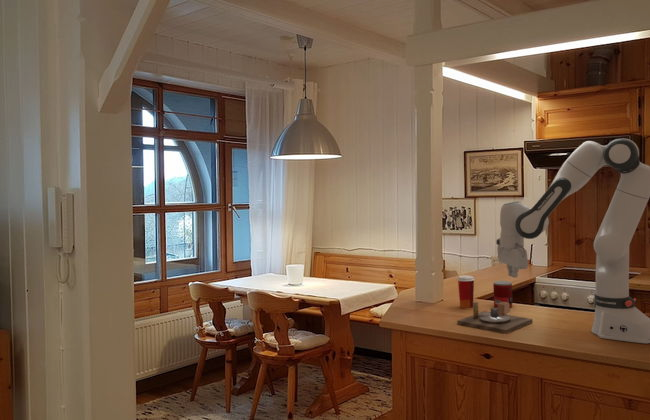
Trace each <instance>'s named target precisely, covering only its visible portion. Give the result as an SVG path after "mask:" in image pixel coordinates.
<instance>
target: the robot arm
mask: <svg viewBox="0 0 650 420" xmlns="http://www.w3.org/2000/svg"><path fill="white" fill-rule="evenodd" d="M605 166H609V167H611V168H612V169H614V170H616V172H618V173H620V179H619V182H618V184H617V185H616V189H615V191H614V194H613V195H612V198H611V200H610V203H609V206H608V209H607V210H606V212H605V215H604V217H603V219H602V222H601V224H600V226H599V228H598V231H597V233H596V236H595V238H594V240H593V249H594V252H595V254H596V259H595V260H596V262H595V293H594V297H593V298H594V299H593V300H594V301H593V302H594V303H593V304H594V309H595V310H594V319H593V324H592V328H591V330H590V331H591V333H592V334H594V335H596V336H597V337H598V338H600V339H606V340H613V341H621V342H628V343H629V342H630V343H638V344H650V317H649V316H647V315H646V314H644V313H643V311H641V310H640V309H638V308H637V307H636V306H635V303H636V300H637V297H636V298H633V297H631V296H630V275H629V274H630V244H631V242H632V239H633V236H634V235H635V232H636V230H637V227H638V225H639V223H640V221H641V218H642V217H643V214H644V212H645V209H646V206H647V204H648V202H649V200H650V165H648V164H646V163H645V164H644V163H643V162H641V161H640V149H639V147H638V145H637V144H636V143H635V142H634V141H633V140H631V139H629V138H615V139H613V140H611V141H610V142H608V144H606V145H602V144H600V143H599V142H596V141H593V140H587V141H584V142H582V144H580V145H579V146H578V147H577V148H575V149H574V151H573V152H572V153H571V154H570V155H569V156H568V157H567V159H566V160H565V161H564V162H563V163H562V165H561V166H560V168H559V169H558V172H557V173H556V175H555V176H554V178H553V180H552V182H551V183H550V185H549V186H548V189H547V190H546V191H545V192H544V194H543V195H542V196H541V197H540V198H539V200H537V202H536V203H535V204H534V206H532V207H530V206H528V205H526V204H524V203H523V202H521V201H512V202H507V203H504V204H503V205H502V206H501V208H500V213H499V215H500V216H499V217H500V218H499V225H500V228H501V229H500V237H499V238H497V239H496V241H495V243H496V245H497V247H496V248H497V249H496V250H497V259H498V262H500V263H502V264H505V265H506V268H507V272H508V276H510V277H512V278H516V279H517V278H518V272H519V270H527V269H528V266H529V260H528V253H527V250H526V249H525V242H524V241H525V239H528V240H531V239H536V238H538V236H540V235H541V234H542V233H544V232H545V231H546V230H547V229H548V227H549V226H550V218H549V216H550V215H551V214H552V213H553V211H554V210H555V209H556V208H557V207H558V206H559V205H560V203H561V202H562V201H564V199H566V198H567V197H569V196H570V195H573V194H575V193H576V192H578V191H579V190H580V189H582V188H583V187H584V186H585V185H586V184H588V183H589V181H590V180H591V179H592V177H593V176H594V175H595V174H596V173H597V172H598V171H599V170H600V169H601V168H602V167H605Z"/></svg>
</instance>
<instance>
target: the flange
mask: <svg viewBox="0 0 650 420" xmlns="http://www.w3.org/2000/svg"><path fill="white" fill-rule="evenodd" d="M490 312H491V313H483V314H480V315H479V319H480V320H481V321H483V322H488V323H504V322H508V321H510V316H509V315H510V314H509V313H511V312H510V308H509V303H507V302H501V303H498V308H497V307H491V308H490Z"/></svg>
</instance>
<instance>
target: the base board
mask: <svg viewBox="0 0 650 420" xmlns="http://www.w3.org/2000/svg"><path fill="white" fill-rule="evenodd" d="M472 311H473V312H472V313H473V314H472V315H469V316H466V317H463V318H461V319H458V320H457V321H456V322H457V324H456V325H460V326H466V327H470V328H475V329H480V330H484V331H490V332H494V333H500V334H505V335H507V334H509V333H513V331H516V330H519V329H521V328H523V327H526V326H529V325H531V324H532V323H533V318H528V317H524V316H516V315H511V314H508V315H509V316H510V321H508V322H504V323H488V322H483V321H481V320H480V319H479V315H480V314H483V313H491V311H487V310H483V311H479V302H478V301H473V310H472Z"/></svg>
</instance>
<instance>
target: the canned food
mask: <svg viewBox="0 0 650 420" xmlns="http://www.w3.org/2000/svg"><path fill="white" fill-rule="evenodd" d="M492 283H493V305H494V308H498V303H501V302H507V303H509V309H510V308H512V307H513V283H512V281H508V280H497V281H495V280H494V281H493V282H492Z"/></svg>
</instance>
